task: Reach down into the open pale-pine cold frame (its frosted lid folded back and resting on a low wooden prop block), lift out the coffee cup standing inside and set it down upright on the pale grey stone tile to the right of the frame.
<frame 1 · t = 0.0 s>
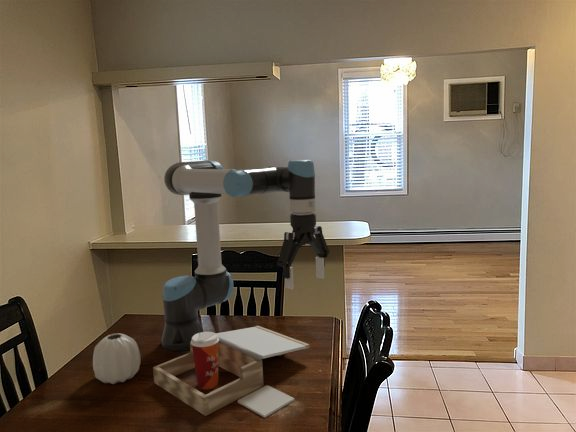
hand: (305, 283, 139), 28 cm above the table, fingers open, 13 cm apart
cold frame: (208, 384, 138), on the table
coffee cup: (208, 384, 138), resting in cold frame
prop block: (276, 352, 157), on the table
lid: (231, 346, 143), resting on prop block
vase: (118, 378, 144), on the table
stone tile: (266, 401, 127), on the table
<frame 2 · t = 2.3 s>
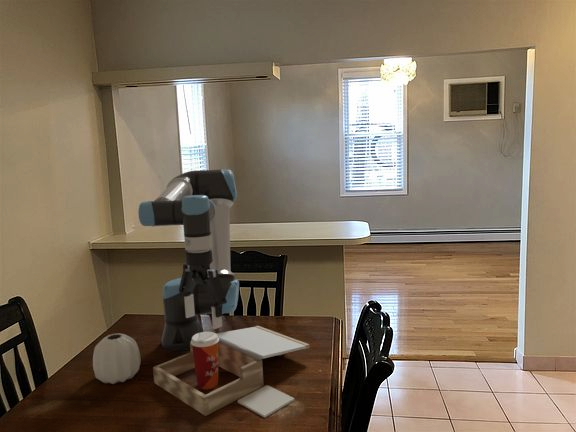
hand: (203, 322, 135), 19 cm above the table, fingers open, 13 cm apart
nothing on the table moved.
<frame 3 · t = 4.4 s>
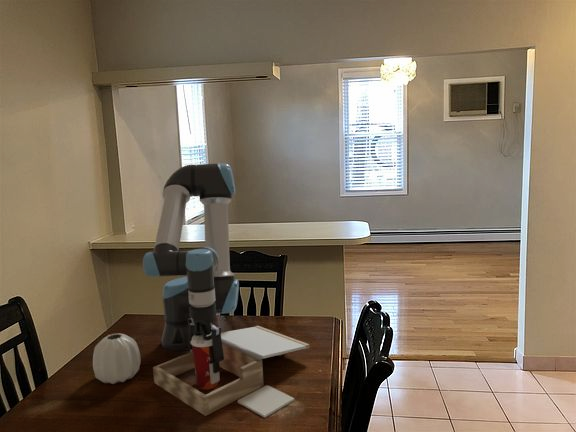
hand: (207, 377, 137), 2 cm above the table, fingers closed on coffee cup, 7 cm apart
coffee cup: (208, 384, 138), resting in cold frame, touching gripper
everything else where it was.
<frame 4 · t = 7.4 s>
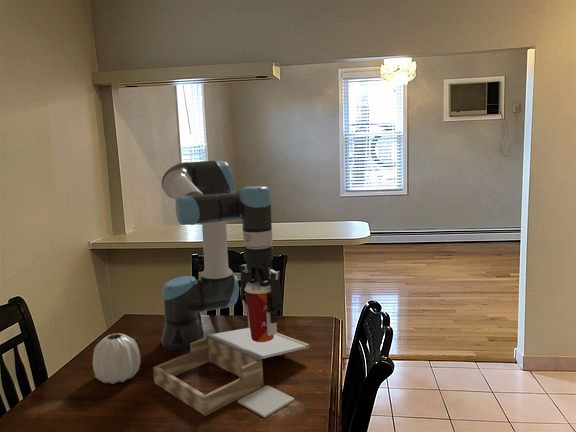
hand: (262, 330, 124), 20 cm above the table, fingers closed on coffee cup, 7 cm apart
coffee cup: (262, 338, 124), point 18 cm above the table, touching gripper
everything else where it was.
when the fingers open (4 cm above the table, at t = 10.6 s): coffee cup drops 1 cm, resting on stone tile.
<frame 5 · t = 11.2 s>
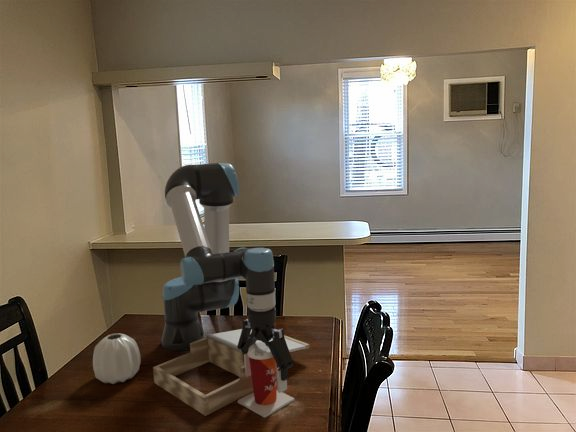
hand: (265, 382, 126), 6 cm above the table, fingers open, 12 cm apart
coffee cup: (265, 399, 127), resting on stone tile
everything else where it was.
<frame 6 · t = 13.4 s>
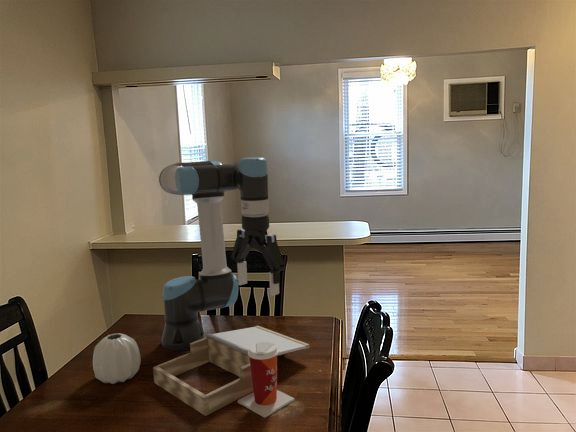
hand: (258, 289, 131), 29 cm above the table, fingers open, 13 cm apart
nothing on the table moved.
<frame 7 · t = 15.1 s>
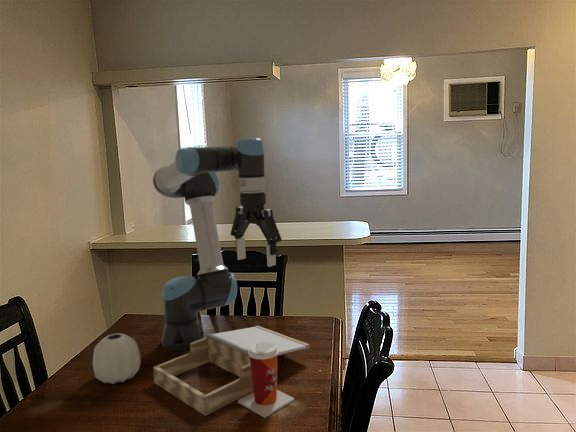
hand: (256, 262, 140), 35 cm above the table, fingers open, 13 cm apart
nothing on the table moved.
at the end: coffee cup inside the target area on the stone tile (0.1 cm from its centre), point 0.4 cm above the stone tile's base; coffee cup tilted 0°; the gripper is holding nothing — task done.
